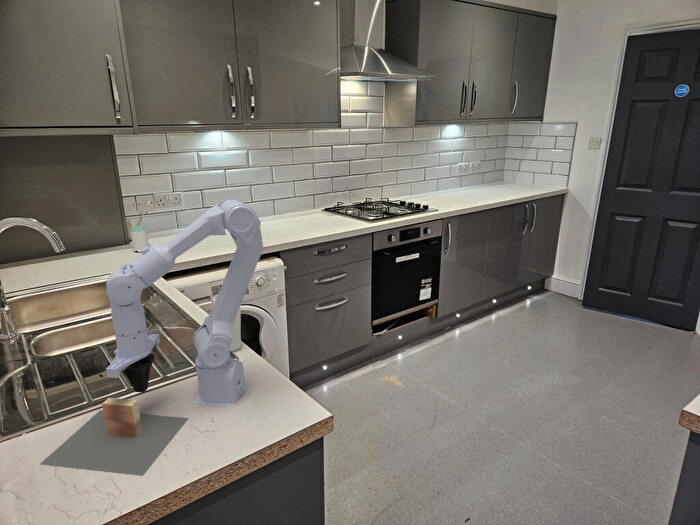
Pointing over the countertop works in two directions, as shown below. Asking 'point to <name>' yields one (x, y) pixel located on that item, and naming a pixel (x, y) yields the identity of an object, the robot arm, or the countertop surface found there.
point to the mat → (116, 446)
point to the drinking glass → (234, 330)
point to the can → (139, 237)
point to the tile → (122, 417)
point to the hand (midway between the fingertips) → (141, 390)
